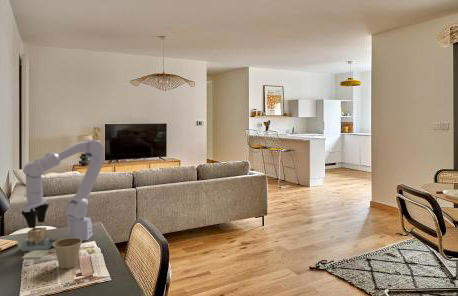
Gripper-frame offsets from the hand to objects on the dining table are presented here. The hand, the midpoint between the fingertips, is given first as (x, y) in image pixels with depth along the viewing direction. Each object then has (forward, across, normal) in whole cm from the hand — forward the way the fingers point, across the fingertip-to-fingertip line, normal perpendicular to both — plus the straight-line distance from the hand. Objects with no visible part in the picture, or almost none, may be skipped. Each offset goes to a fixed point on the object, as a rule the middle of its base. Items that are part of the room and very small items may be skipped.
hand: (36, 224), depth 143 cm
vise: (+9, 0, +1) cm, 10 cm away
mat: (+9, +8, +3) cm, 13 cm away
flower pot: (+10, +20, +20) cm, 30 cm away
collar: (+6, 0, 0) cm, 6 cm away
